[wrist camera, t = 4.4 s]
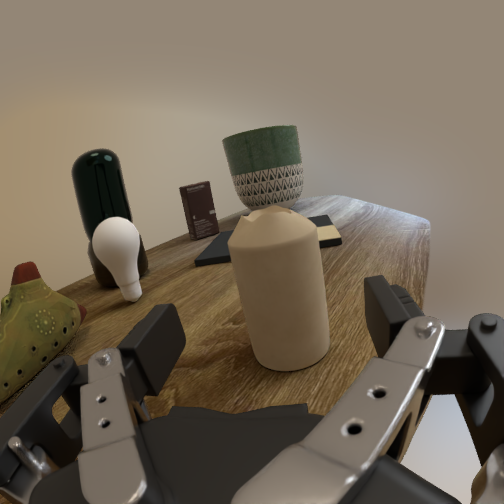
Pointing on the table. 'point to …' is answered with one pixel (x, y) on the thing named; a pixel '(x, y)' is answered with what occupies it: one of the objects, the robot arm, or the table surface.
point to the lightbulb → (119, 253)
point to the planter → (266, 166)
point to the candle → (281, 287)
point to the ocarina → (32, 327)
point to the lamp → (102, 203)
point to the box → (199, 210)
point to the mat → (219, 245)
